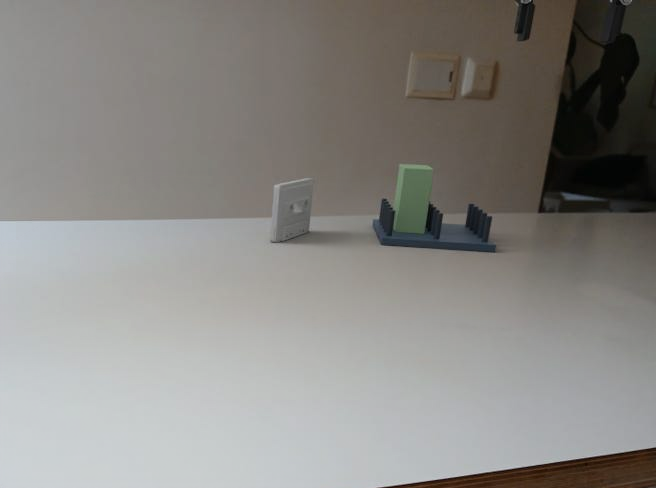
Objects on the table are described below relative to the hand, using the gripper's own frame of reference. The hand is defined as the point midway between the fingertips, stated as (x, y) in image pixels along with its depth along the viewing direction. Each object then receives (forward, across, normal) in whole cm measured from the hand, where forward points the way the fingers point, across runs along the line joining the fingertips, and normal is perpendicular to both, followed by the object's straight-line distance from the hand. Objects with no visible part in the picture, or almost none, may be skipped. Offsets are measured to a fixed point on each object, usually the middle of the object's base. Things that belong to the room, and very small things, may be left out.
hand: (564, 41), depth 90 cm
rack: (+26, +11, -8) cm, 30 cm away
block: (+25, +14, -8) cm, 30 cm away
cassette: (+26, +31, -2) cm, 41 cm away
